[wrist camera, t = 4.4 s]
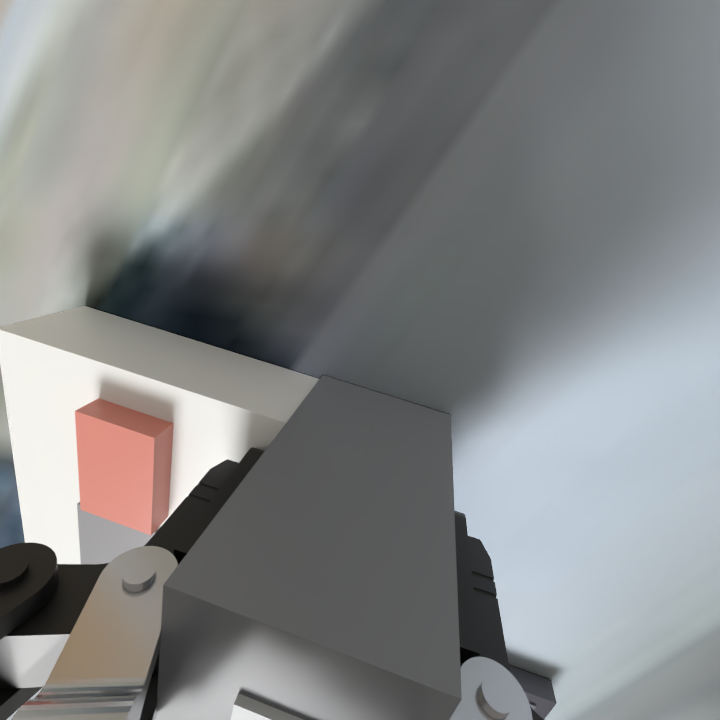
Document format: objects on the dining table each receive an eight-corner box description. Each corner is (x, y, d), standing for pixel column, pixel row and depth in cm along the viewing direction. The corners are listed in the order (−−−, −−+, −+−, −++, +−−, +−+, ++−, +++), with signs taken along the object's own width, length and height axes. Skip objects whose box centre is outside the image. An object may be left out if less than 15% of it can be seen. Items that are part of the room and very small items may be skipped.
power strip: (321, 379, 13) (277, 439, 9) (253, 684, 20) (212, 784, 16) (84, 305, 14) (-37, 336, 10) (97, 623, 21) (27, 705, 17)
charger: (450, 414, 12) (462, 712, 5) (411, 515, 14) (377, 850, 7) (322, 374, 13) (156, 593, 5) (299, 477, 15) (148, 752, 7)
